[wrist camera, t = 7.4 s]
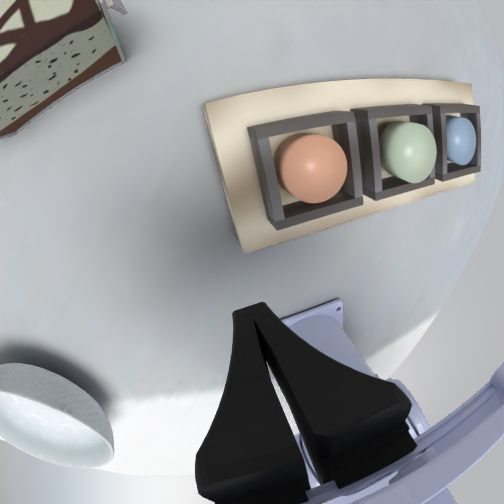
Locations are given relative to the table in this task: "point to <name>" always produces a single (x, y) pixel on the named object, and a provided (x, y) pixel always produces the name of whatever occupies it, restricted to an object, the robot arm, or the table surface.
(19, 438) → the cereal bowl
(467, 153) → the button blue
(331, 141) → the button terracotta
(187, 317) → the table surface
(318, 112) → the button board
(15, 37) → the food container
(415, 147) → the button sage
